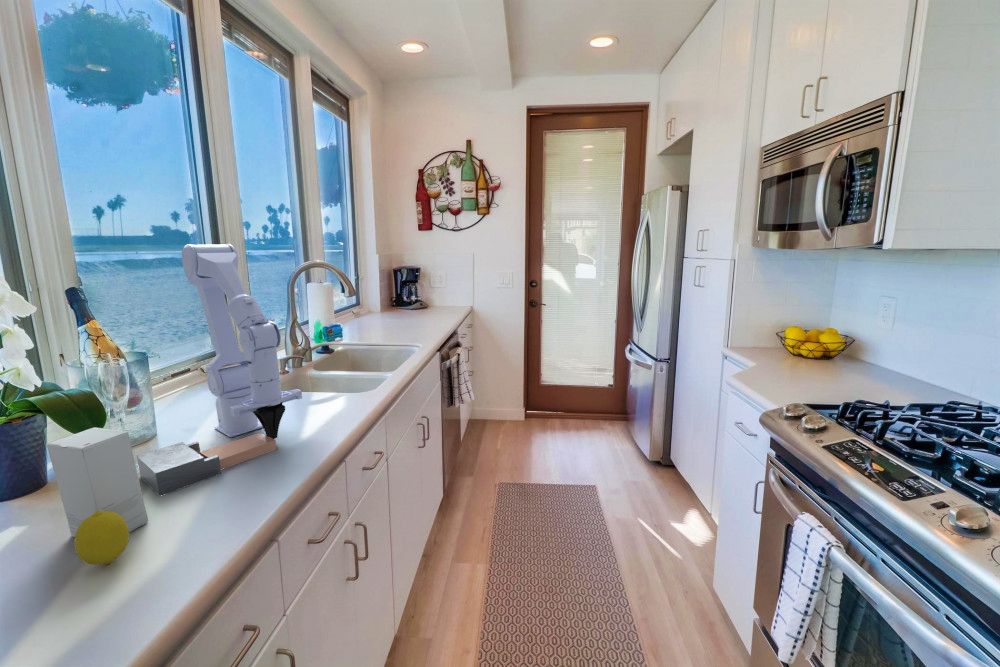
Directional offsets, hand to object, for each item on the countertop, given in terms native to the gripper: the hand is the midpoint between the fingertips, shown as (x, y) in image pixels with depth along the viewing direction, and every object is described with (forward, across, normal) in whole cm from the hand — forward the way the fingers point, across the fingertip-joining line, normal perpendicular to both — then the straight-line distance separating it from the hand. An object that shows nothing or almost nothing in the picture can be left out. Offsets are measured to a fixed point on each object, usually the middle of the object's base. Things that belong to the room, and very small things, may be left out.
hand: (272, 437), depth 100 cm
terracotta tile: (+2, -7, 0) cm, 7 cm away
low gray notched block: (+1, -16, 0) cm, 17 cm away
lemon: (+2, -33, -21) cm, 39 cm away
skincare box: (+2, -31, -11) cm, 32 cm away
